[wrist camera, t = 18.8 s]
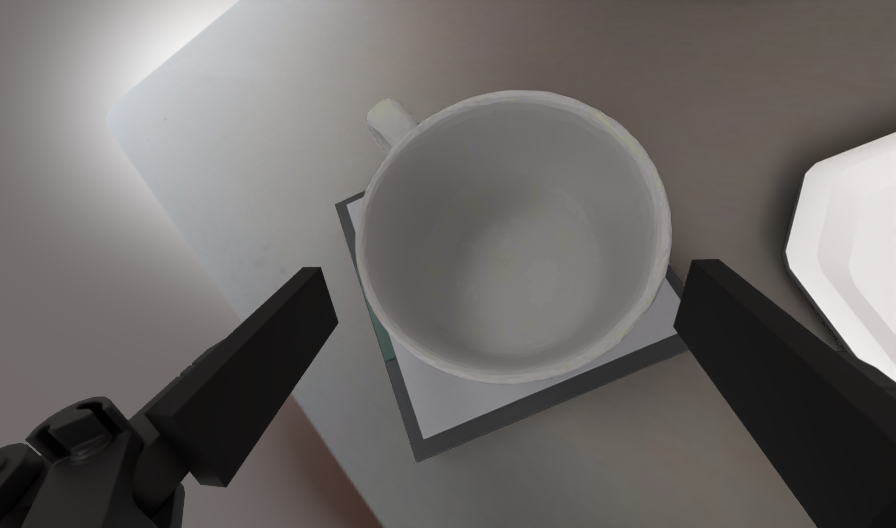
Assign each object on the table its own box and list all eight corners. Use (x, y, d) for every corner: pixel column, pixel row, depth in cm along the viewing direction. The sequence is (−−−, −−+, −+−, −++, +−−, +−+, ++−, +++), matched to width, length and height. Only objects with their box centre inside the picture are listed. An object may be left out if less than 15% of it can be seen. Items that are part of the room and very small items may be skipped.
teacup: (647, 308, 17) (763, 264, 9) (465, 415, 17) (433, 457, 9) (503, 126, 21) (501, -2, 14) (360, 210, 21) (282, 126, 14)
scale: (426, 451, 20) (411, 468, 16) (350, 218, 25) (328, 198, 22) (692, 340, 19) (729, 335, 16) (554, 126, 25) (561, 92, 21)
